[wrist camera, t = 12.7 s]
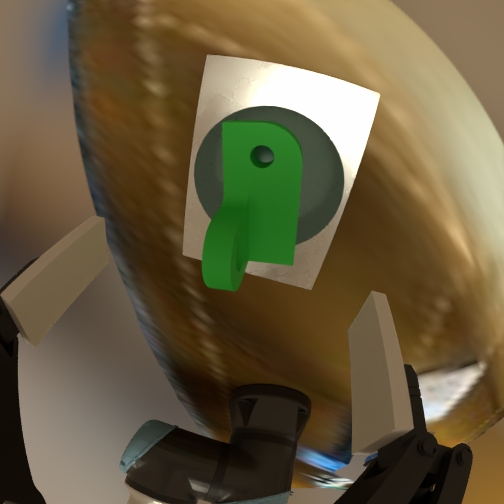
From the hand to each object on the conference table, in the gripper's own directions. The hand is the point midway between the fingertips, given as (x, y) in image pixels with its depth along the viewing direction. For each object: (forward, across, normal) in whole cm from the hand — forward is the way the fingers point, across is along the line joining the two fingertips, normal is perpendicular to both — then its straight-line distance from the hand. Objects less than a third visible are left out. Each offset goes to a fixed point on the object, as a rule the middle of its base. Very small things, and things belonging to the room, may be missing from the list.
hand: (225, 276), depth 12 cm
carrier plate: (+14, 0, -1) cm, 14 cm away
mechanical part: (+13, 0, 0) cm, 13 cm away
